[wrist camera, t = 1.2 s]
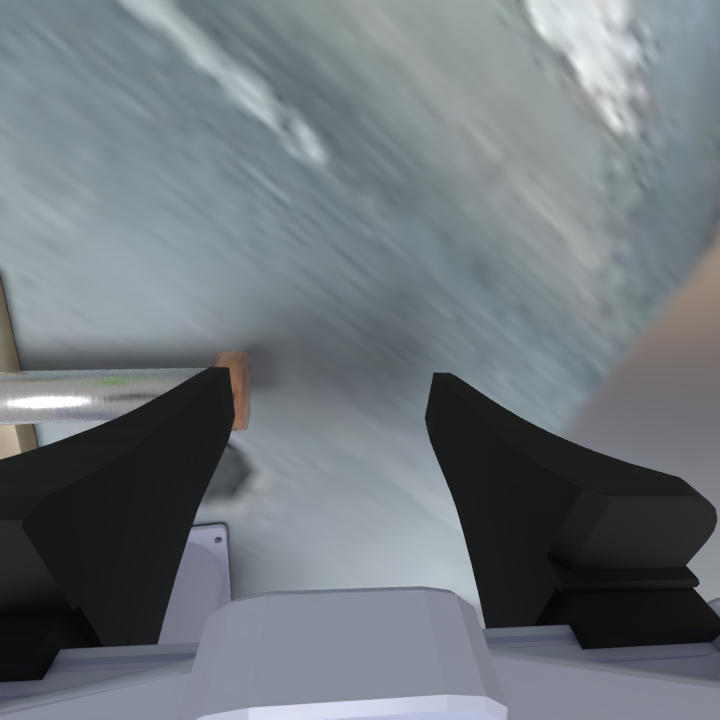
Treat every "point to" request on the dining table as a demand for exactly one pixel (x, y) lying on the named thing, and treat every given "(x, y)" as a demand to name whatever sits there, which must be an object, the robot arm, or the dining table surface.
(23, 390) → the shaft
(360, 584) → the dining table surface
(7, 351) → the bearing block
